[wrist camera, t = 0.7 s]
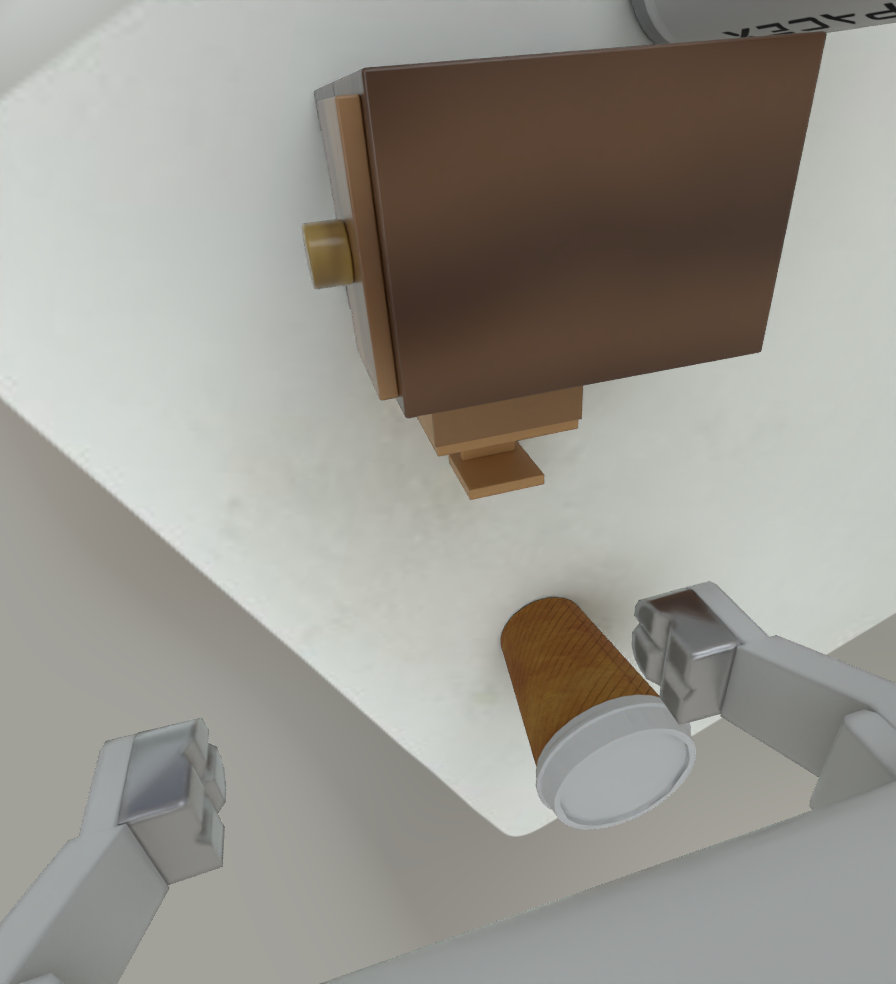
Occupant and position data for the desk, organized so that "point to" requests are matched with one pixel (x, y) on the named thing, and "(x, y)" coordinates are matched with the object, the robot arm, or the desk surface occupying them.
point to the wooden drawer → (500, 438)
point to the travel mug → (755, 17)
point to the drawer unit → (560, 212)
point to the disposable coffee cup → (591, 719)
